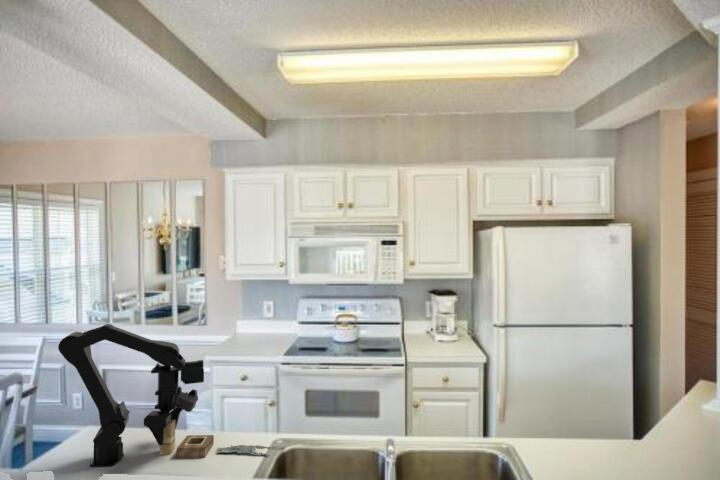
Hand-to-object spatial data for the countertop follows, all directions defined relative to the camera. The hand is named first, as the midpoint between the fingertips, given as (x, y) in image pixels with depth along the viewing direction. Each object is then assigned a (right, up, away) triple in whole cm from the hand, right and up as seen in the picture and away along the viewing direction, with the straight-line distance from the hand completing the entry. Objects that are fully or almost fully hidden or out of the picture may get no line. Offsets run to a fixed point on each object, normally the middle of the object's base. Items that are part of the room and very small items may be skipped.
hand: (167, 437), depth 126 cm
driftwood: (+25, -5, 0) cm, 26 cm away
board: (+9, -4, 0) cm, 10 cm away
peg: (0, -4, 0) cm, 4 cm away
